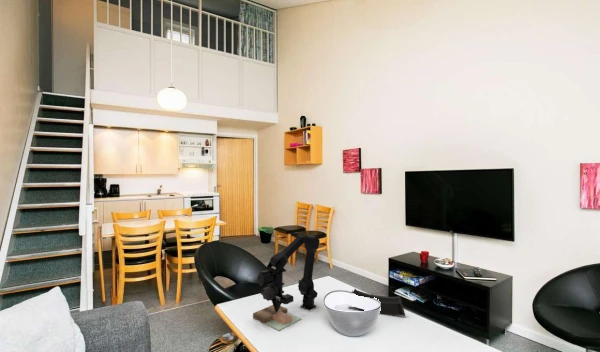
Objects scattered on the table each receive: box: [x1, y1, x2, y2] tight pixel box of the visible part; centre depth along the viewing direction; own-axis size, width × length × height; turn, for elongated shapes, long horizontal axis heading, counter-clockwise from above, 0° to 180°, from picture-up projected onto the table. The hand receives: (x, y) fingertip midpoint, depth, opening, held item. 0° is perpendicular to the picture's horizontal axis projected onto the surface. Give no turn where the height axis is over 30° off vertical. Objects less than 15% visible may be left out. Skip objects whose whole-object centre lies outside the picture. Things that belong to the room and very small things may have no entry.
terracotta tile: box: [272, 312, 292, 325], centre depth 153 cm, size 6×8×2 cm
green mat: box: [264, 312, 302, 332], centre depth 152 cm, size 16×10×1 cm, turn 138°
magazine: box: [350, 288, 406, 316], centre depth 165 cm, size 17×3×30 cm
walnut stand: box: [252, 304, 288, 325], centre depth 159 cm, size 16×9×2 cm, turn 138°
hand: (276, 311), depth 156 cm, fingers closed
